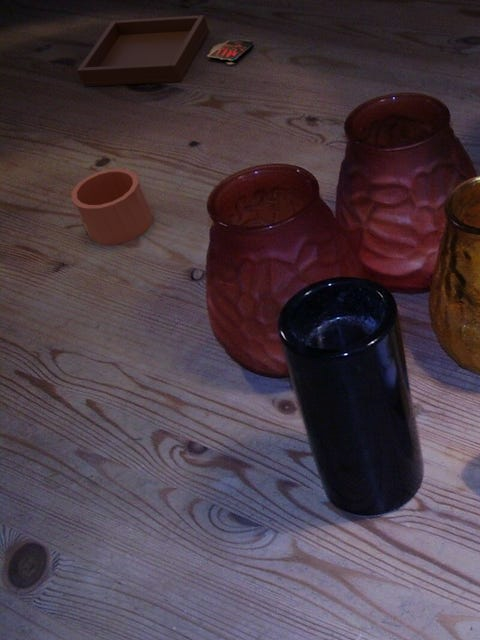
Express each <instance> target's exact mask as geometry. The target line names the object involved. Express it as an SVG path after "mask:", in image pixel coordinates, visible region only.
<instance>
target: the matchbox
mask: <svg viewBox="0 0 480 640" xmlns="http://www.w3.org/2000/svg"><path fill="white" fill-rule="evenodd" d="M253 45H254V40H248V39H239V38H237V39H234V40H233V39H232V40H229V39H228V40H227V41H226V42H225V41H224V43H217V44H216V45H213V46H212V48H211V49H210V51H209V54H207V55H206V57H208V58H215V59H220V60H228V61H229V62H227V61H226V62H225V64H227V65H228V66H230V65H235V66H236V63H234V62H232V61H234V60H237V59H239V57H240V56H242V54H244V53H245V54H247V52H246V51H248V50H249V49H250V48H251V47H252V46H253Z"/></svg>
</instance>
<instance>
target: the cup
mask: <svg viewBox="0 0 480 640" xmlns="http://www.w3.org/2000/svg"><path fill="white" fill-rule="evenodd" d="M147 197H148V196H147V195H146V192H145V190H144V188H143V185H142V183H141V180H140V178H139V176H138V175H137V174H136V173H135V172H134V171H133V170H130V169H126V168H123V167H121V168H108V169H107V168H106V169H103V170H100V171H97V172H94V173H93V174H91V175H87V177H84V178H83V179H82V180H81V181H80V182H79V183H77V184H76V185H75V186H74V187H73V190H72V191H71V202H72V204H73V206H74V208H75V210H76V212H77V214H78V216H79V219H80V221H81V223H82V224H83V227H84V229H85V231H86V233H87V235H88V237H90V239H91V241H93V242H94V243H96V244H98V245H102V246H116V245H122V244H125V243H129V242H131V241H134V240H135V239H138V238H139V237H140V236H142V235H144V234H145V233H146V232H147V231H148V230H149V229H150V228H151V226H152V225H153V222H154V219H155V218H154V212H153V209H152V206H151V205H150V202H149V200H148V198H147Z"/></svg>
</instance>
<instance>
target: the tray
mask: <svg viewBox="0 0 480 640" xmlns="http://www.w3.org/2000/svg"><path fill="white" fill-rule="evenodd" d="M109 23H110V24H109V25H108V26H107V27H106V29H105V31H104V32H103V33H102V35H101V36H100V37H99V39H98V40H97V42H95V44H94V46H93V47H92V49H91V50H90V51H89V53H88V55H86V57H85V59H84V60H83V61H82V63H81V64H80V65H79V67H78V69H77V70H76V71H77V74H78V76H79V78H80V80H81V82H82V85H83V87H84V88H87V87H105V86H123V85H126V86H127V85H143V84H162V83H163V84H164V83H181V82H182V80H183V79H184V77H185V76H186V73H187V72H188V70H189V69H190V67H191V64H192V63H193V61H194V59H195V58H196V56H197V54H198V52H199V50H200V49H201V47H202V45H203V43H204V42H205V40H206V38H207V36H208V34H209V33H210V29H209V26H208V23H207V20H206V17H205V15H204V14H202V15H185V16H169V17H153V18H151V17H150V18H149V17H148V18H135V19H120V20H119V19H118V20H117V19H115V20H111V22H109Z"/></svg>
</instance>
